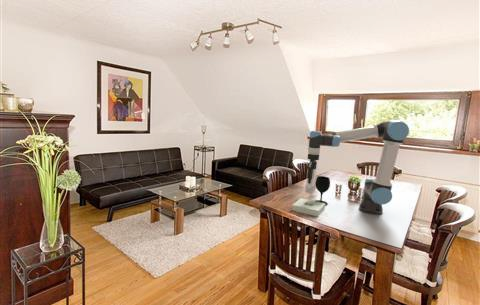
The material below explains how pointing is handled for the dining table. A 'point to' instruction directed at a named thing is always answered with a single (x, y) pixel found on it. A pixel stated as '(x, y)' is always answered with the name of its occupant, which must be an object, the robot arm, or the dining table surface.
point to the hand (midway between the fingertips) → (310, 186)
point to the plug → (312, 189)
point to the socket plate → (308, 207)
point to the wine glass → (322, 186)
